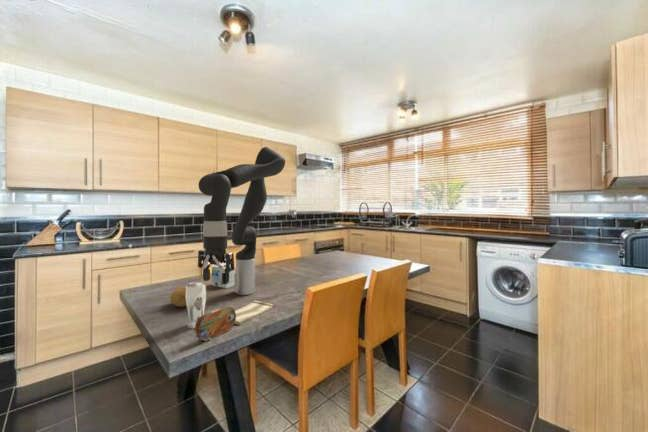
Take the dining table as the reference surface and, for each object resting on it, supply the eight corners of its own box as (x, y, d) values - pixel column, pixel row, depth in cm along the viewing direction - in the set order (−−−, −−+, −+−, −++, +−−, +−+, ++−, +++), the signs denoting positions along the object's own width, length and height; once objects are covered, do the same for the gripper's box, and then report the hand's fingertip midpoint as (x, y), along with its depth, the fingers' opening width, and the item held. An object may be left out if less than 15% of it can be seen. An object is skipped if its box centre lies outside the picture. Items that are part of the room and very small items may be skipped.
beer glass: (190, 321, 104) (189, 281, 103) (209, 320, 104) (209, 281, 104) (182, 329, 97) (181, 287, 96) (202, 328, 97) (202, 287, 97)
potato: (193, 298, 128) (193, 281, 128) (197, 308, 116) (196, 290, 116) (169, 302, 123) (169, 284, 123) (170, 313, 111) (170, 293, 111)
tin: (199, 345, 86) (199, 319, 86) (193, 343, 88) (192, 317, 87) (236, 327, 99) (236, 304, 99) (230, 325, 101) (230, 302, 100)
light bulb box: (211, 285, 149) (211, 266, 148) (220, 282, 155) (220, 263, 155) (226, 288, 145) (226, 268, 144) (235, 285, 151) (235, 265, 150)
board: (219, 320, 105) (219, 316, 105) (254, 303, 123) (254, 300, 123) (239, 325, 101) (239, 321, 101) (272, 307, 119) (272, 304, 119)
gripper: (191, 234, 92) (191, 282, 92) (222, 236, 86) (223, 288, 86) (209, 232, 98) (209, 277, 99) (239, 234, 92) (240, 282, 93)
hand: (215, 282), depth 93 cm, fingers open, 8 cm apart
